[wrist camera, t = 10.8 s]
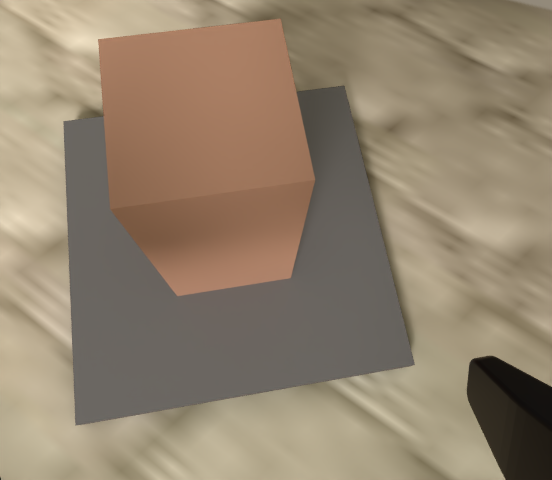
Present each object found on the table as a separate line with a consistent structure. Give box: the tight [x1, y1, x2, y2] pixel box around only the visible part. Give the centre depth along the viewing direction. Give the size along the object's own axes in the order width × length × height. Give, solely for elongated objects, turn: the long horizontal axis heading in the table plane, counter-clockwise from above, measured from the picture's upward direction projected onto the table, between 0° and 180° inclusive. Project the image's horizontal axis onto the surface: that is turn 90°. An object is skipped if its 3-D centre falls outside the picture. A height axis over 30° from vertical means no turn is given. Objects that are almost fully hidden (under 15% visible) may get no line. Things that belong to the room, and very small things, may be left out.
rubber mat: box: [64, 86, 415, 425], centre depth 23 cm, size 14×14×1 cm
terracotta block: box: [98, 19, 315, 296], centre depth 17 cm, size 5×5×10 cm
